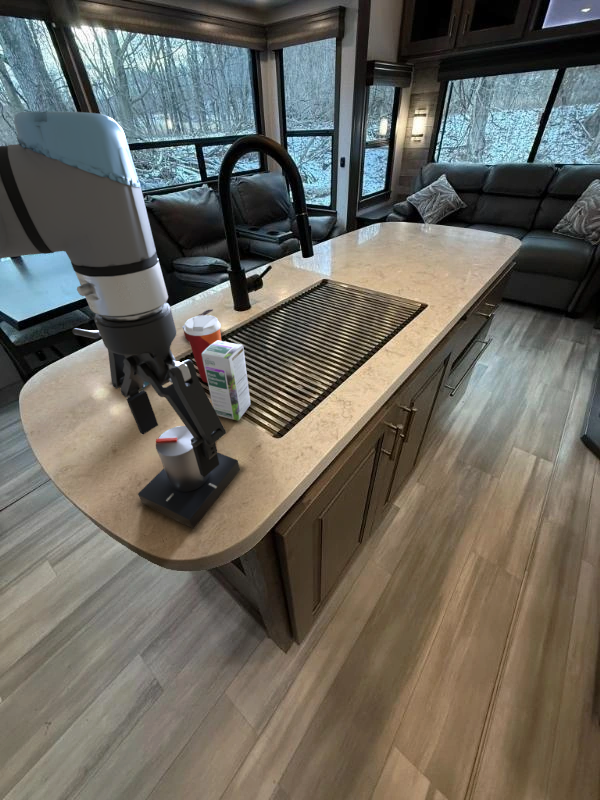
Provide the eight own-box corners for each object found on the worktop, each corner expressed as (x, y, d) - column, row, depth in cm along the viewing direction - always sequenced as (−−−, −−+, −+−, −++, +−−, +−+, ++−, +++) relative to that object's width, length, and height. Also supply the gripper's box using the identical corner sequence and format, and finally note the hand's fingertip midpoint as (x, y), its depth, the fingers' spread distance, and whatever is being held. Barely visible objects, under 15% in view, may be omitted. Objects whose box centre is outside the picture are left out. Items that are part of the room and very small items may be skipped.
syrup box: (213, 415, 67) (199, 353, 58) (228, 398, 71) (216, 338, 62) (238, 421, 66) (227, 358, 57) (252, 404, 70) (243, 343, 61)
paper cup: (226, 386, 75) (215, 329, 66) (192, 386, 75) (177, 329, 67) (232, 367, 81) (223, 313, 73) (201, 367, 81) (188, 313, 73)
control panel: (193, 529, 48) (189, 519, 46) (141, 503, 51) (136, 493, 50) (240, 470, 56) (238, 459, 54) (193, 451, 60) (189, 440, 58)
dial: (211, 460, 55) (201, 422, 49) (206, 490, 50) (195, 452, 45) (174, 462, 54) (160, 425, 49) (166, 493, 49) (149, 456, 44)
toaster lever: (94, 342, 62) (93, 329, 62) (72, 337, 64) (72, 324, 63) (143, 340, 73) (143, 329, 73) (123, 336, 75) (123, 325, 74)
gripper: (39, 292, 38) (106, 427, 51) (179, 357, 27) (218, 510, 40) (102, 275, 43) (148, 403, 56) (243, 324, 31) (260, 470, 45)
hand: (177, 448), depth 48 cm, fingers open, 13 cm apart
